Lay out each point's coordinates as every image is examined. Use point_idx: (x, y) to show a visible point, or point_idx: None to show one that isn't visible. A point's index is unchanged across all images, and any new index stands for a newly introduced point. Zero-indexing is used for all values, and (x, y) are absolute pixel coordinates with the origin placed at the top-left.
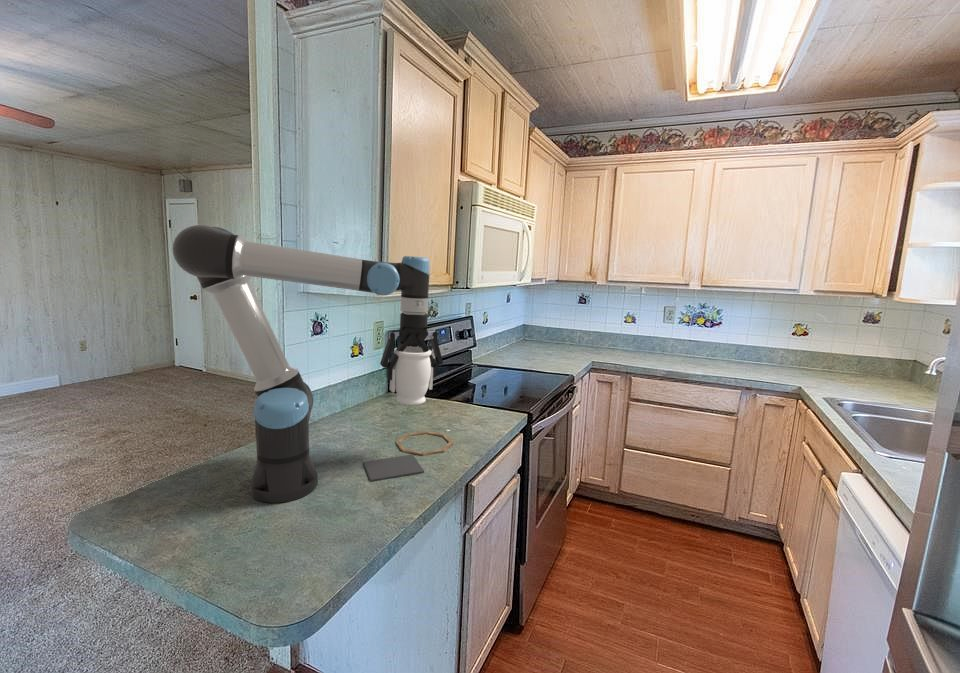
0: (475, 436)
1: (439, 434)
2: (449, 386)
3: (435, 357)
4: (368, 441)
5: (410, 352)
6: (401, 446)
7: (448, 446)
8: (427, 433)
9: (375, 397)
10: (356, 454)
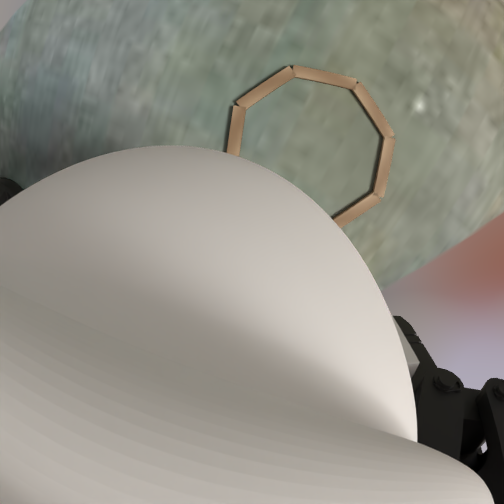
0: (452, 188)
1: (379, 125)
2: None
3: (489, 439)
4: (166, 65)
5: (126, 312)
6: (233, 148)
7: (355, 217)
8: (353, 92)
9: None
10: (114, 137)
